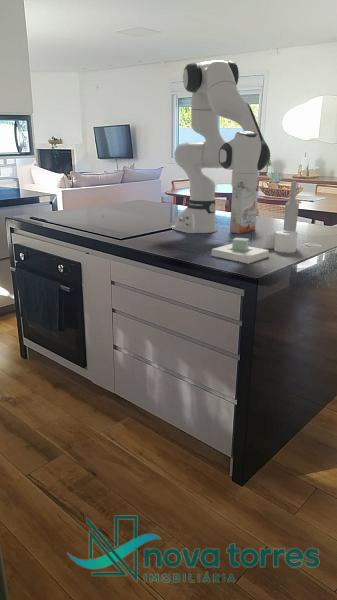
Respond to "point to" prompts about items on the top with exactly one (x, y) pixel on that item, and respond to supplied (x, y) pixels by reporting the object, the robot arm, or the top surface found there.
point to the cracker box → (248, 223)
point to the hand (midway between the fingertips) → (242, 221)
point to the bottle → (291, 210)
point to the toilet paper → (281, 241)
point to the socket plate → (240, 254)
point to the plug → (240, 244)
